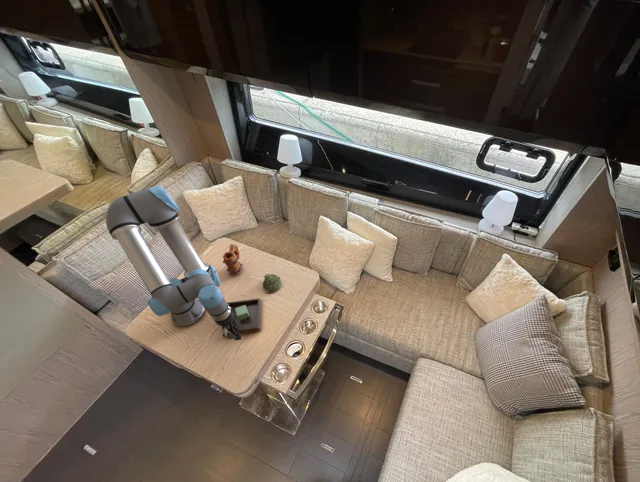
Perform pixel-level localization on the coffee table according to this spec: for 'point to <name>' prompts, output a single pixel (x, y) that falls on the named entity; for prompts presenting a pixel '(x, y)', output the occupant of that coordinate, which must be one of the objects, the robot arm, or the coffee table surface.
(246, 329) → the tray
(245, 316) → the block
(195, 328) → the coffee table surface
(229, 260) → the brown animal figurine
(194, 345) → the coffee table surface
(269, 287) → the green bumpy lump
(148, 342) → the coffee table surface
